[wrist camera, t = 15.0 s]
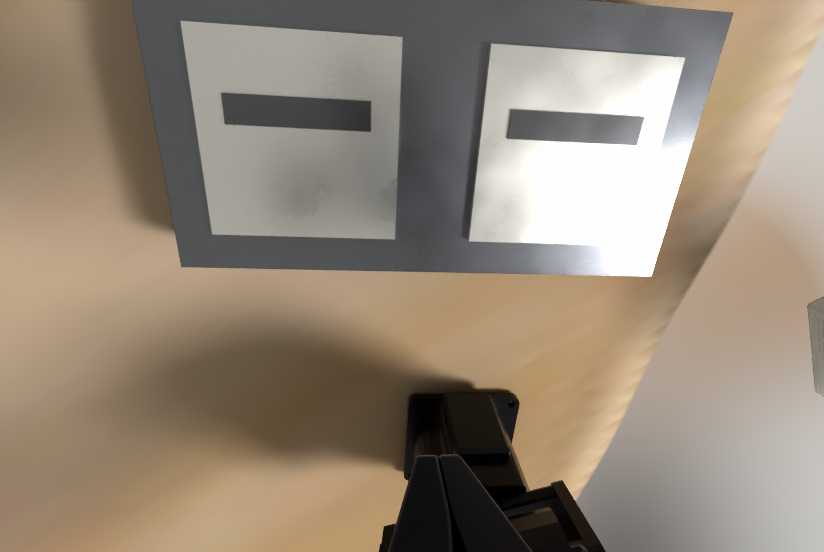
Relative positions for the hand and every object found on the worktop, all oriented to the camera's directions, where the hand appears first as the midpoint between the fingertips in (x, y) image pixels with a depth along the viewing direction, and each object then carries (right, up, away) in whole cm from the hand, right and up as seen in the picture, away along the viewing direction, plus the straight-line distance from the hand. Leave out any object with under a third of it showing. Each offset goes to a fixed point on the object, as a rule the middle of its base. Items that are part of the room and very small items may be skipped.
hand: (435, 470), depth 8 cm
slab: (0, +10, +10) cm, 14 cm away
